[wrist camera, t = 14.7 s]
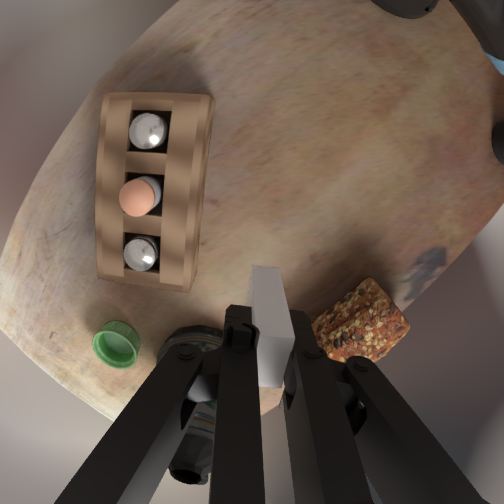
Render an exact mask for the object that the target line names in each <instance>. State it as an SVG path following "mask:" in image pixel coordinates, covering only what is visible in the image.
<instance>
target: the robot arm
mask: <svg viewBox="0 0 504 504" xmlns="http://www.w3.org/2000/svg"><path fill="white" fill-rule="evenodd" d="M371 1H373V2H374V3H375V4H376V5H378V6H379V7H381V8H382V9H384V10H385V11H387V12H389V13H391V14H394V15H396V16H399V17H403V18H409V19H415V18H420V17H423V16H424V15H426V14H428V13H430V12H431V11H432V10H433V9H434V8H435V7H436V5H437V3H438V1H439V0H371ZM449 1H450V2H451V3H452V5H453V6H454V7H455V8H456V10H457V11H458V12H459V14H460V15H461V16H462V18H463V19H464V21H465V22H466V23H467V25H468V26H469V28H470V29H471V30H472V32H473V33H474V35H475V36H476V38H477V39H478V41H479V43H480V44H481V48H482V50H483V51H484V52H485V54H486V55H487V56H488V57H489V59H490V60H491V62H492V63H493V65H494V67H495V68H496V69H497V70H498V71H499V72H500V73H501V74H502V75H504V0H449ZM283 380H284V384H285V388H284V391H283V395H282V398H281V401H280V404H279V408H282V405H284V413H285V421H286V429H287V438H288V446H289V453H290V462H291V471H292V479H293V488H294V495H295V496H294V497H295V504H374V503H373V500H372V497H371V494H370V490H369V486H368V483H367V479H366V476H365V473H366V475H367V477H368V479H369V480H370V482H371V483H372V485H373V487H374V489H375V490H376V492H377V493H378V495H379V497H380V498H381V500H382V502H383V503H384V504H490V503H489V502H487V501H485V500H484V499H482V497H481V496H480V495H479V493H478V492H477V491H476V489H475V488H474V487H473V486H472V484H471V483H470V482H469V480H468V479H467V478H466V476H465V475H464V474H463V473H462V471H461V470H460V469H459V468H458V466H457V465H456V464H455V463H454V461H453V460H452V458H451V457H450V456H449V455H448V453H447V452H446V451H445V450H444V448H443V447H442V446H441V445H440V443H439V442H438V441H437V440H436V438H435V437H434V436H433V434H432V433H431V432H430V431H429V429H428V428H427V427H426V426H425V425H424V423H423V422H422V421H421V420H420V418H419V417H418V416H417V415H416V413H415V412H414V411H413V410H412V408H411V407H410V406H409V405H408V404H407V402H406V401H405V400H404V399H403V397H402V396H401V395H400V394H399V392H398V391H397V390H396V389H395V388H394V386H393V385H392V384H391V383H390V382H389V380H388V379H387V378H386V377H385V375H384V374H383V373H382V372H381V371H380V369H379V368H378V367H377V366H376V365H375V363H374V362H372V361H371V360H370V359H368V358H366V357H363V356H359V355H358V356H351V357H349V358H348V359H347V360H346V363H344V362H340V361H336V360H333V359H330V358H329V357H328V355H327V353H326V351H325V350H324V349H323V348H321V347H320V346H318V344H317V341H316V338H315V334H314V331H313V328H312V325H311V322H310V319H309V317H308V316H307V315H306V314H305V313H304V312H303V311H296V310H289V309H288V305H287V301H286V296H285V292H284V288H283V284H282V280H281V275H280V271H279V268H275V267H266V266H258V265H252V270H251V276H250V283H249V289H248V296H247V302H246V306H241V305H232V304H231V305H230V306H229V307H228V308H227V309H226V314H225V323H224V331H223V341H222V344H221V345H220V347H218V348H217V349H214V350H211V351H205V352H202V350H201V349H200V348H199V347H198V346H196V345H194V344H191V343H178V344H175V345H173V346H172V347H170V348H169V349H168V351H167V352H166V353H165V355H164V356H163V357H162V359H161V360H160V361H159V363H158V364H157V365H156V367H155V368H154V369H153V371H152V372H151V373H150V375H149V376H148V377H147V379H146V380H145V381H144V383H143V384H142V385H141V387H140V388H139V389H138V391H137V392H136V393H135V395H134V396H133V397H132V399H131V400H130V401H129V403H128V404H127V405H126V407H125V408H124V409H123V411H122V412H121V413H120V415H119V416H118V417H117V419H116V420H115V421H114V423H113V424H112V425H111V427H110V428H109V429H108V431H107V432H106V433H105V435H104V436H103V437H102V439H101V440H100V441H99V443H98V444H97V446H96V447H95V448H94V450H93V451H92V452H91V454H90V455H89V456H88V458H87V459H86V460H85V462H84V463H83V464H82V466H81V467H80V469H79V470H78V471H77V473H76V474H75V475H74V477H73V478H72V479H71V481H70V482H69V483H68V485H67V486H66V488H65V489H64V490H63V492H62V493H61V494H60V496H59V497H58V499H57V500H56V501H55V503H54V504H149V502H150V500H151V498H152V496H153V494H154V493H155V491H156V489H157V487H158V485H159V483H160V481H161V479H162V477H163V475H164V473H165V472H166V470H167V468H168V466H169V464H170V462H171V460H172V458H173V456H174V454H175V452H176V451H177V449H178V447H179V445H180V443H181V441H182V439H183V437H184V435H185V433H186V431H187V429H188V427H189V425H190V423H191V421H192V419H193V417H194V415H195V413H196V411H197V409H198V407H199V405H200V402H202V401H210V400H217V402H216V413H215V425H214V437H213V450H212V463H211V478H210V492H209V504H265V489H264V471H263V453H262V436H261V418H260V399H259V386H260V387H275V388H281V387H282V384H283ZM360 402H362V403H363V405H364V406H365V407H363V406H362V405H361V403H360Z"/></svg>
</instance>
